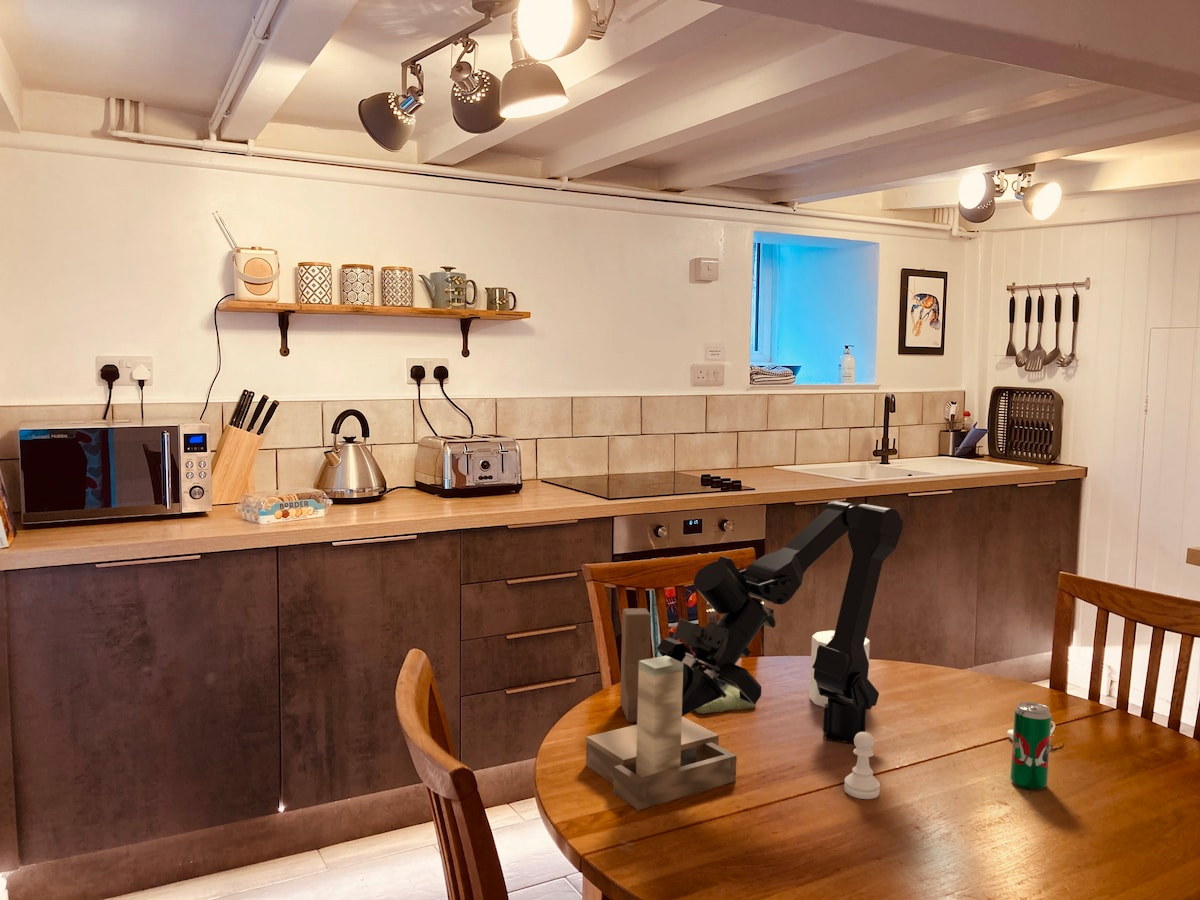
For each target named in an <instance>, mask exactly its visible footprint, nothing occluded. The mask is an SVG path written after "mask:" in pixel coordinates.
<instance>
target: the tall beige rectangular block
mask: <svg viewBox="0 0 1200 900" xmlns="http://www.w3.org/2000/svg"><path fill="white" fill-rule="evenodd" d="M682 692H683V663H682V662H680V661H678V660H676V659H673V658H671V657H669V656H662V655H661V656H658V657H650V659H645V660H640V661H639V670H638V711H637V723H636V725H637V752H636V775H638V776H639V777H641V778H642V777H645V776H649V775H653V774H656V773H660V772H663V771H667V770H671V769H674V768H678V767H680V761H681V727H682Z"/></svg>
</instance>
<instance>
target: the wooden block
mask: <svg viewBox="0 0 1200 900" xmlns="http://www.w3.org/2000/svg"><path fill="white" fill-rule="evenodd" d="M621 614H622V615H621V617H622V618H621V651H620V652H621V653H620V657H621V658H620V692H619V693H620V700H619V703H620V707H621V709H622V712H623V713H624V716H625V719H626V721H627V722H628V723H630V724H631V723H633V724H634V723H636V724H637V711H638V670H639V661H640V660H645V659H651V657H650V655H651V654H650V653H651V621H652V620H651V613H650V612H649V610H648V609H647V608H645V607H643V608H642V607H641V608H640V607H638V608H637V607H635V608H632V607H631V608H623V609H622V612H621Z"/></svg>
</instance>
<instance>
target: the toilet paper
mask: <svg viewBox="0 0 1200 900" xmlns="http://www.w3.org/2000/svg"><path fill="white" fill-rule="evenodd" d="M834 633H835V630H823V631H817V632H815V633H814V634H813V635H812V636H811V648H810V649H811V655H810V674H809V675H810V677H809V679H810V680H809V700H811V701H812V702H813V704H815V705H816V706H820V707H822V708H824V705H825V704H828V697H825V696H821V695H819V691H818V687H817V683H816V680H815V679H814V668H812V667H813V665H814V663H815V660H816V655H817V649H818V647H819V646H820V645H822V646H826V645H827V644H828V643H829V642H830V641H831V640H832V639H833V637H834ZM870 642H871V640H870V639H868V638H867V637H865V641H864V649H865V652H866V656H867V659H868V663H869V664H870V646H871V645H870V644H871V643H870ZM867 679H868V680H869V677H868V678H867Z"/></svg>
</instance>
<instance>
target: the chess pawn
mask: <svg viewBox="0 0 1200 900" xmlns="http://www.w3.org/2000/svg"><path fill="white" fill-rule="evenodd" d="M853 744H854V746H855V747H856V748H854V749H853V752H852V753H853V754H855V755H856V756H857V759H856V760H857V761H856V764H855V766H853V767H852V772H850V773H849V774H848V775H847V776H845V778H844V786H843V790H844V791H845V793H846V794H848V795H849V796H851V797H853V798H855V799H860V800H873V799H876V798H878V797H879V795H880V792H881V791H880V787H881V784H880V781H879V780H878V779H877V778H876V776H874V771H873V769H872V768H871V766H870V757H872V756H874V751H873V748H874V746H875V739H874V737H873V735H872V734H871V733H869V732H868V731H866V732H859V733H857V734H856V736H855V738H854V743H853Z"/></svg>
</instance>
